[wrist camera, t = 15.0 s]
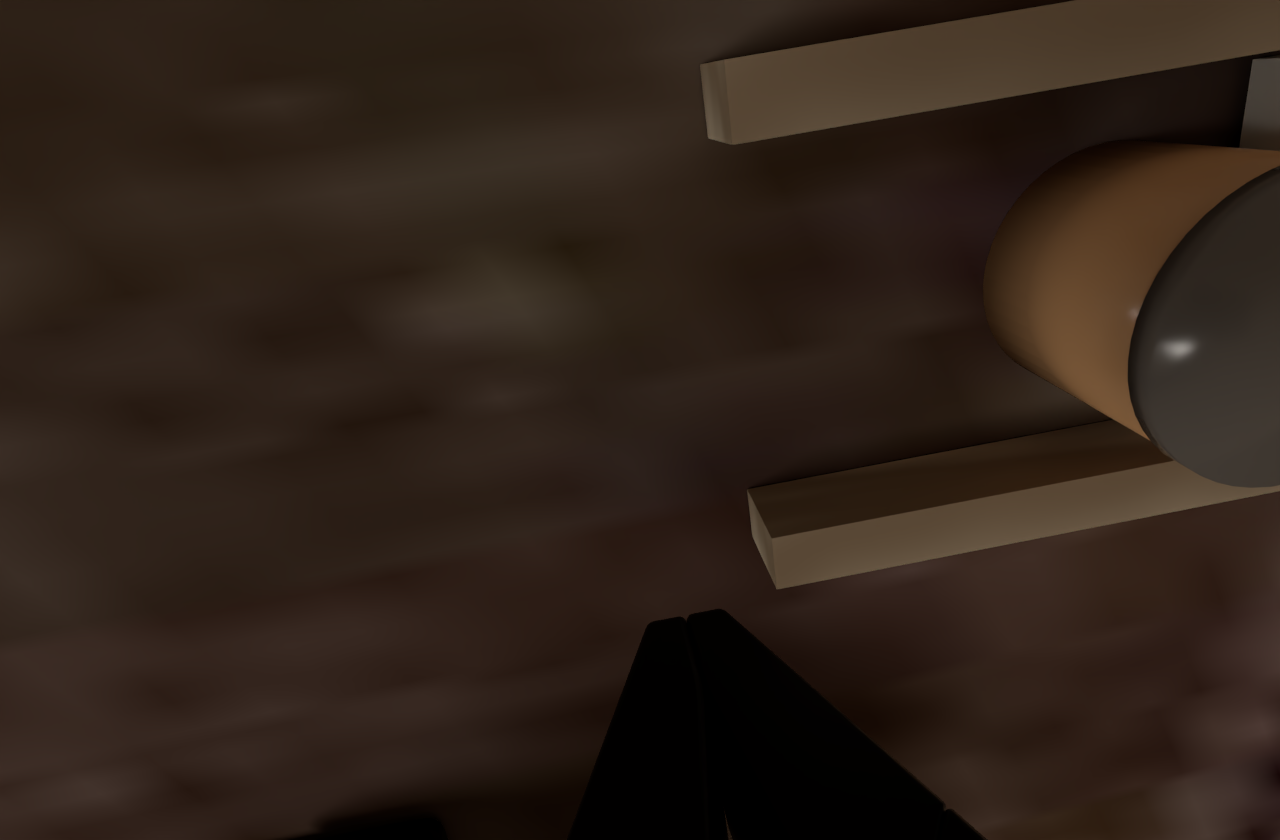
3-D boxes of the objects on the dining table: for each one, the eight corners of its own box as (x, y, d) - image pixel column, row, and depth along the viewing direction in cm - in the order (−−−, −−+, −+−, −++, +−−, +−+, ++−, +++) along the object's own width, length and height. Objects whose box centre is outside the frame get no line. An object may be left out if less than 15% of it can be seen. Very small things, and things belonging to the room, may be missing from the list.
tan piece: (1360, 418, 22) (1455, 456, 20) (752, 536, 21) (777, 589, 19) (1482, -68, 17) (1626, -94, 15) (699, 64, 16) (724, 59, 14)
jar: (1201, 355, 21) (1439, 449, 15) (979, 404, 20) (1137, 517, 15) (1231, 111, 18) (1528, 118, 13) (978, 164, 18) (1167, 195, 12)
